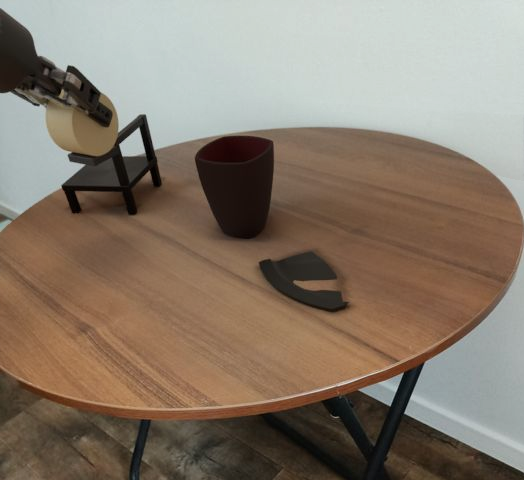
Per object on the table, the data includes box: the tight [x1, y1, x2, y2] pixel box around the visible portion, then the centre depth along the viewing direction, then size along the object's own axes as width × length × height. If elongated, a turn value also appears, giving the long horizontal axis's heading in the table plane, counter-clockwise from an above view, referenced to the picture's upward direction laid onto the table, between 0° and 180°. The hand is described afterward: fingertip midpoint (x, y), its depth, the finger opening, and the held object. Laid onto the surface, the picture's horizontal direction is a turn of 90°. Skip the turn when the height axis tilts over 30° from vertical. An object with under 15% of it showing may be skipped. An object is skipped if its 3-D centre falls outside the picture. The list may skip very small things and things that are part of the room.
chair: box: [60, 113, 163, 216], centre depth 87 cm, size 12×12×12 cm
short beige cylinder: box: [44, 89, 120, 166], centre depth 67 cm, size 5×8×8 cm, turn 149°
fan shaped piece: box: [258, 251, 350, 313], centre depth 64 cm, size 8×14×2 cm, turn 21°
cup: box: [194, 135, 275, 239], centre depth 76 cm, size 10×14×12 cm
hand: (93, 117), depth 68 cm, fingers closed on short beige cylinder, 4 cm apart
